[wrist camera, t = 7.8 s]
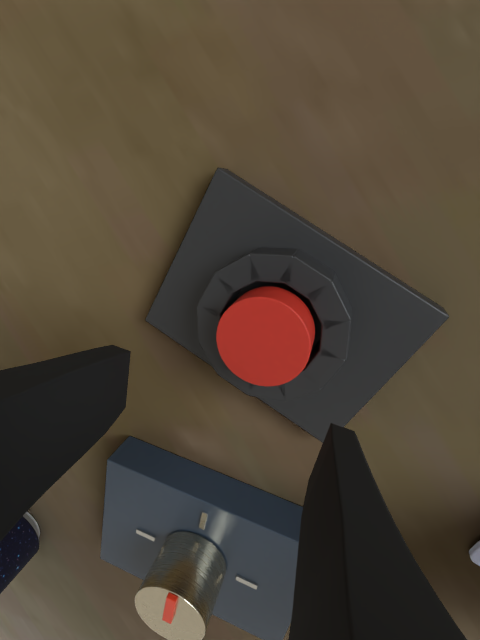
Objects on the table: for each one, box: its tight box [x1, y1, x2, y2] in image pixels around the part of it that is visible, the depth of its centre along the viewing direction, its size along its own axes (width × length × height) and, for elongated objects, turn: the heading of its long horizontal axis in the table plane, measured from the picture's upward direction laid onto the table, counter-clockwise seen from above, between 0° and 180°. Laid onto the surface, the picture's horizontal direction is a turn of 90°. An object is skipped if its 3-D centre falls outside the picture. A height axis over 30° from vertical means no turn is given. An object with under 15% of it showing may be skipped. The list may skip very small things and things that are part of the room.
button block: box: [145, 168, 449, 442], centre depth 17 cm, size 12×9×3 cm
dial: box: [135, 531, 226, 640], centre depth 21 cm, size 4×4×4 cm
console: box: [100, 436, 303, 640], centre depth 24 cm, size 14×10×3 cm
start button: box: [216, 286, 315, 386], centre depth 15 cm, size 4×4×2 cm
